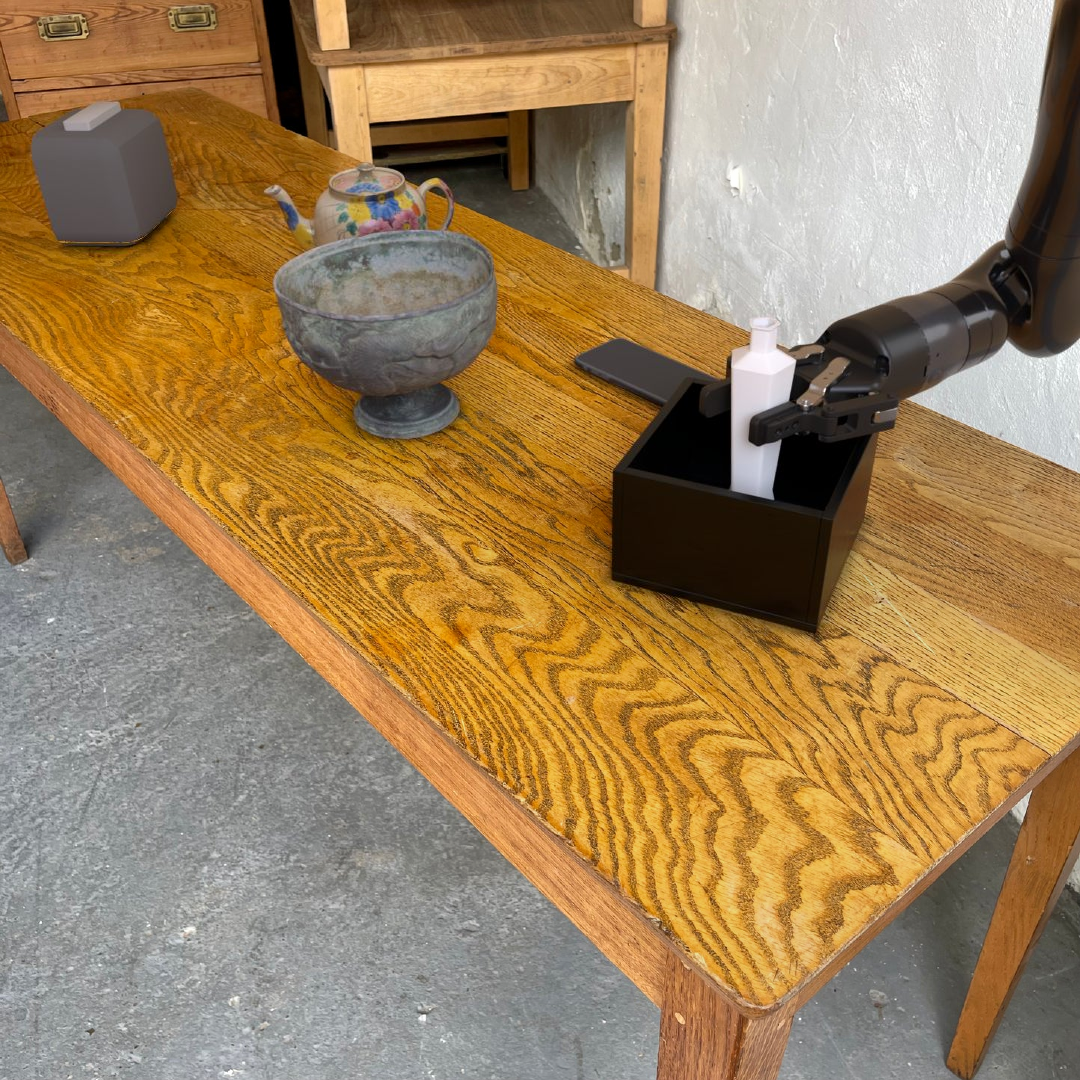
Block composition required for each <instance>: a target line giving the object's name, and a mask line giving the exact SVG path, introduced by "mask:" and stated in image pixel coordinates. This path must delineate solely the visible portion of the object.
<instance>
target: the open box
mask: <svg viewBox="0 0 1080 1080" xmlns="http://www.w3.org/2000/svg"><path fill="white" fill-rule="evenodd" d="M712 383H714V381H708V380H703V379H698V378H692V377H686V378H685V379H684V381H683V382H682V383H681V385H680V386H679V387H678V388H677V390H676V391H675V392H674V393H673V395H672V396H671V397H670V398H669V400H668V401H667V402H666V404H665V405H664V406H661V409H659V411H658V412H657V413H656V415H655V416H654V417H653V419H652V420H651V421H650V422H649V424H648V425H647V426H646V427H645V429H644V430H643V431H642V432H641V434H639V437H637V439H636V440H635V441H634V443H633V444H632V445H631V446H630V448H629V449H628V450H627V451H626V452H625V454H624V455H623V457H621V459H620V460H619V462H618V463H617V464H616V466H615V467H613V469H612V489H611V490H612V499H611V501H612V503H611V569H610V571H611V581H614V582H618V583H621V584H626V585H628V586H632V587H637V588H641V589H644V590H648V591H651V592H655V593H658V594H663V595H667V596H671V597H675V598H678V599H682V600H686V601H690V602H693V603H696V604H701V605H705V606H709V607H712V608H716V609H720V610H724V611H726V612H727V611H728V612H731V613H735V614H739V615H743V616H746V617H749V618H754V619H758V620H762V621H765V622H769V623H773V624H776V625H781V626H784V627H788V628H792V629H796V630H799V631H803V632H807V633H811V634H815V635H816V634H817V632H818V630H819V627H820V625H821V622H822V620H823V617H824V615H825V613H826V610H827V608H828V606H829V604H830V601H831V599H832V596H833V594H834V592H835V590H836V587H837V584H838V582H839V580H840V578H841V575H842V572H843V570H844V568H845V565H846V563H847V561H848V559H849V556H850V555H851V552H852V549H853V547H854V544H855V542H856V539H857V537H858V535H859V532H860V530H861V528H862V526H863V523H864V520H865V517H866V512H867V511H866V510H867V504H868V499H869V494H870V489H871V483H872V476H873V470H874V466H875V465H874V464H875V459H876V453H877V446H878V442H879V435H880V432H877V433H873V434H868V435H863V436H859V437H854V438H850V439H845V440H841V441H836V442H831V443H825V442H822V441H820V440H819V439H818V435H819V434H817V433H813V432H811V433H810V434H808V435H798V434H793V435H791V436H789V437H786V438H784V439H782V440H781V445H780V451H779V456H778V462H777V467H776V472H775V478H774V483H773V489H772V491H773V495H774V500H772V499H767V498H763V497H758V496H754V495H749V494H745V493H740V492H736V491H731V490H729V489H730V486H731V409H730V410H728V411H725V412H723V413H720V414H718V415H715V416H713V417H710V418H707V417H705V416H703V415H702V414H700V413H699V401H700V392H701V390H702V388H703V387H704V386H706V385H709V384H712ZM715 383H716V382H715ZM790 402H792V403H794V404H796V403H797V400H791V401H790ZM847 420H848V415H846V416H841V417H838V423H837V426H839V425H844V424H845V423H846V422H847Z"/></svg>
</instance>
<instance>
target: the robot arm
mask: <svg viewBox="0 0 1080 1080" xmlns="http://www.w3.org/2000/svg"><path fill="white" fill-rule="evenodd" d="M1051 11H1052V12H1051V18H1050V23H1049V24H1050V25H1049V31H1048V37H1047V43H1046V49H1045V56H1044V63H1043V67H1042V68H1043V70H1042V74H1041V75H1042V76H1041V82H1040V89H1039V90H1040V91H1039V97H1038V104H1037V105H1038V106H1037V113H1036V114H1037V115H1036V121H1035V128H1034V133H1033V134H1034V135H1033V139H1032V145H1031V149H1030V154H1029V158H1028V161H1027V165H1026V168H1025V170H1024V173H1023V176H1022V179H1021V182H1020V185H1019V188H1018V191H1017V194H1016V197H1015V199H1014V202H1013V206H1012V208H1011V211H1010V214H1009V217H1008V220H1007V224H1006V227H1005V232H1004V239H1001V240H998V241H996V242H995V243H993V244H992V245H991V246H989V247H988V248H987V249H985V251H983V252H982V254H980V256H978V257H977V258H976V259H975V260H974V262H972V263H971V264H970V265H969V266H968V267H966V268H965V269H964V270H962V271H961V272H960V273H959V274H958V275H956V276H955V277H953V278H952V279H950V280H949V281H947V282H945V283H943V284H940V285H938V286H936V287H932V288H930V289H927V290H925V291H922V292H919V293H915V294H910V295H905V296H901V297H897V298H894V299H892V300H888V301H886V302H883V303H881V304H878V305H875V306H872V307H870V308H867V309H864V310H861V311H859V312H856V313H853V314H851V315H849V316H846V317H842V318H840V319H838V320H836V321H833V322H832V323H831V324H830V325H829V326H828V327H826V329H825V330H824V332H823V333H822V334H821V335H820V336H819V337H818V338H817V339H816V341H814V342H811V343H806V344H805V343H804V344H796V345H794V346H792V347H790V348H787V347H784V346H779V345H776V348H778V349H779V350H781V351H782V352H784V353H786V354H787V355H789V356H791V357H792V358H794V359H795V360H796V364H795V370H794V375H793V381H792V386H791V391H790V397H789V401H788V402H785V403H783V404H781V405H778V406H776V407H773V408H771V409H768V410H766V411H763V412H761V413H758V414H756V415H754V416H753V417H752V418H751V420H750V424H749V436H748V441H749V442H750V443H752V444H753V445H755V446H757V447H760V446H762V445H764V444H769V443H774V442H777V441H779V440H782V439H784V438H786V437H789V436H791V435H793V434H798V435H808V434H810V433H811V432H813V433H817V434H819V435H818V439H819V440H820V441H822V442H825V443H831V442H836V441H841V440H845V439H850V438H854V437H859V436H863V435H868V434H873V433H877V432H879V433H881V432H886V431H890V430H894V429H895V427H896V421H897V418H898V412H899V404H900V403H901V402H902V401H905V400H906V399H909V398H912V397H915V396H917V395H918V394H921V393H923V392H926V391H928V390H929V389H932V388H934V387H936V386H939V384H941V383H943V381H945V380H947V379H948V378H950V377H952V376H954V375H957V374H959V373H962V372H964V371H965V370H969V369H971V368H974V367H975V366H977V365H980V364H982V363H984V362H986V361H988V360H989V359H991V358H992V357H994V356H995V355H997V354H998V353H999V352H1000V350H1002V348H1003V347H1004V345H1005V343H1006V342H1007V343H1009V344H1010V345H1011V346H1012V347H1014V348H1015V350H1017V351H1018V352H1019V353H1021V354H1023V355H1025V356H1027V357H1030V358H1036V359H1046V358H1051V357H1055V356H1057V355H1060V354H1062V353H1064V352H1065V351H1067V350H1068V349H1070V348H1071V347H1073V346H1074V345H1075V344H1076V343H1077V342H1078V341H1079V340H1080V0H1053V6H1052V10H1051ZM747 345H750V342H748V343H747V344H745V345H744V346H747ZM731 362H732V354H730V355H729V356H727V357H726V363H725V378H722V379H720V381H717V382H716V383H715V382H714V383H712V384H709V385H706V386H704V387H703V388H702V390H701V392H700V401H699V413H700V414H702V415H703V416H705V417H707V418H710V417H713V416H715V415H718V414H720V413H723V412H725V411H728V410H730V409H731ZM791 400H797V403H796V404H794V403H792V402H790V401H791ZM846 415H848V420H847V422H846V423H845V424H844V425H839V426H837V423H838V417H841V416H846Z"/></svg>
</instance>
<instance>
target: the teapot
mask: <svg viewBox="0 0 1080 1080" xmlns="http://www.w3.org/2000/svg"><path fill="white" fill-rule="evenodd" d="M433 188H438V189H440V190H442V192H443V193H444V195H445V197H446V201H447V210H446V215H445V218H444V219H443V221H442V223H441V225H440V227H439V228H438V230H441V231H448V228H450V225H451V223H452V221H453V218H454V214H455V200H454V196H453V193H452V190H451V189H450V188H449V186H448V185H447V183H446V182H444V181H443V180H442V179H441V178H438V177H434V178H430V179H427V180H425V181H424V182H422V184H420V185H419V186H418V187H417V188H414V187H413V186H411V185H410V184H408V183H407V182H406V178H405V176H404V175H403V173H401V172H400V171H398V170H396V169H393V168H388V167H381V166H375V164H374V163H372V162H369V161H368V162H365V161H364V162H360V163H358V164H356V166H355V168H350V169H346V170H342V171H340V172H338V173H336V174H334V175H332V176H331V177H330V178H329V180H328V187H327V188H326V189H325V190H324V191H323V192H322V193H321V194H320V196H319V197H318V199H317V201H316V202H315V205H314V208H313V209H314V210H313V218H310V219H309V218H305V217H303V215H301V213H300V212H299V210H298V208H297V207H296V204H295V203H294V201H293V199H292V198H291V197H290V195H289V194H288V193H287V191H286V190H285V189H284V188H283V187H282V186H281V185H279V184H273V185H271V186H269V187H267V188H266V189H264V190H263V193H264V195H267V196H269V197H271V198H272V199H273V200H275V201H276V204H277V205H278V206H279V208H280V211H281V212H282V215H283V217H284V220H285V222H286V224H287V227H288V229H289V231H290V233H291V235H292V237H293V238H294V240H295V241H296V243H297V244H298V245H299V246H300V247H301V248H302V249H303V250H304V251H305V252H307V251H309V250H311V249H314V248H316V247H319V246H323V245H326V244H329V243H332V242H335V241H339V240H343V239H348V238H353V237H362V236H364V235H368V234H372V233H377V232H384V231H397V230H430V226H429V217H428V211H427V206H426V205H427V204H426V203H427V193H428V192H429V191H430V190H431V189H433Z"/></svg>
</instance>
